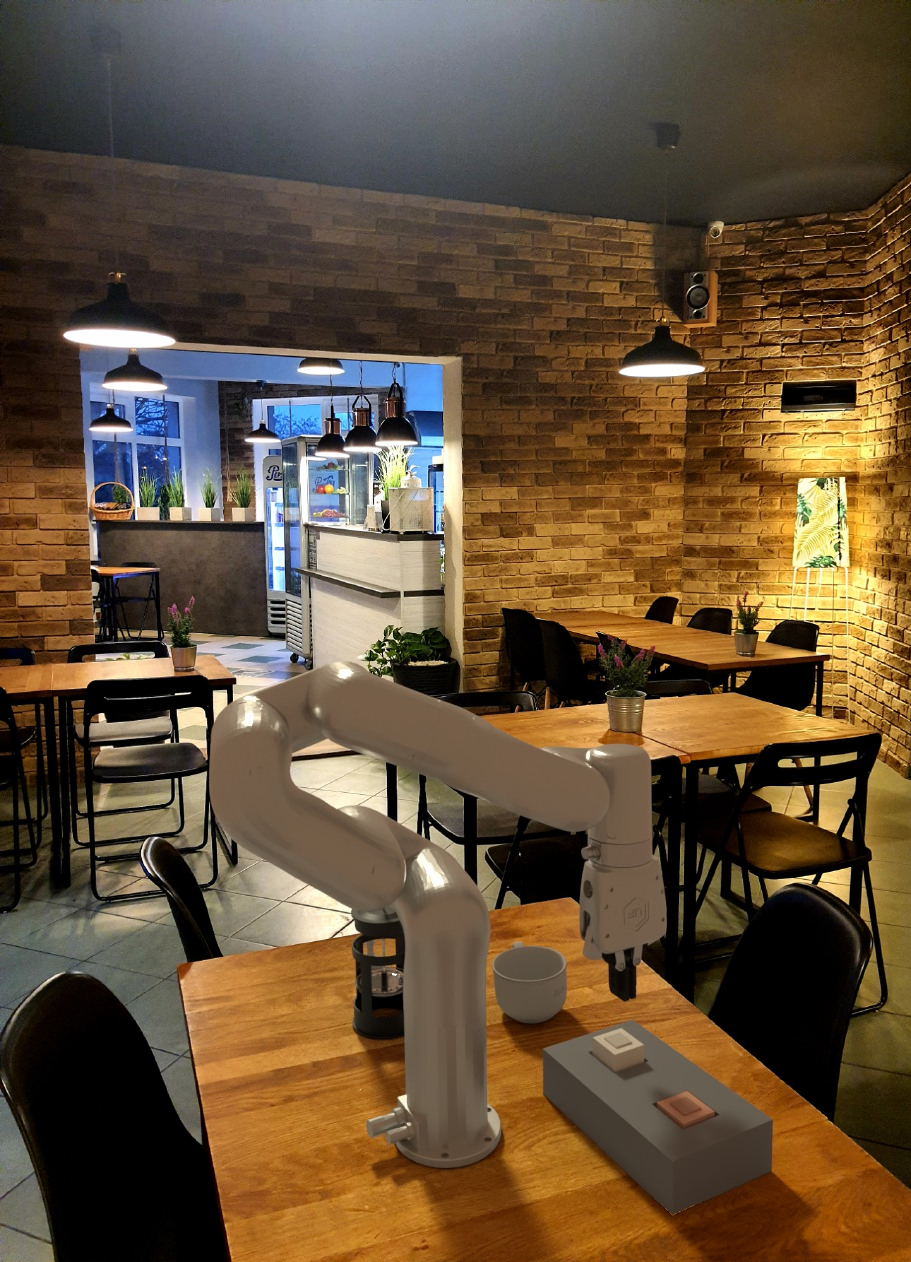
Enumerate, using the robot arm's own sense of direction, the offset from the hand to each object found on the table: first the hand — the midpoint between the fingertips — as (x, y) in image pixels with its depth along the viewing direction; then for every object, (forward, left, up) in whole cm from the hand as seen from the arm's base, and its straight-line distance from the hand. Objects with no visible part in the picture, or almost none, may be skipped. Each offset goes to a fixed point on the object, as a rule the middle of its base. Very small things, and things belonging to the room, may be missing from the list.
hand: (622, 994), depth 114 cm
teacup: (+2, +25, -14) cm, 29 cm away
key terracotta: (-1, -12, -11) cm, 16 cm away
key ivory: (-1, 0, -9) cm, 9 cm away
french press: (-18, +31, -14) cm, 38 cm away
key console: (-1, -6, -14) cm, 15 cm away
